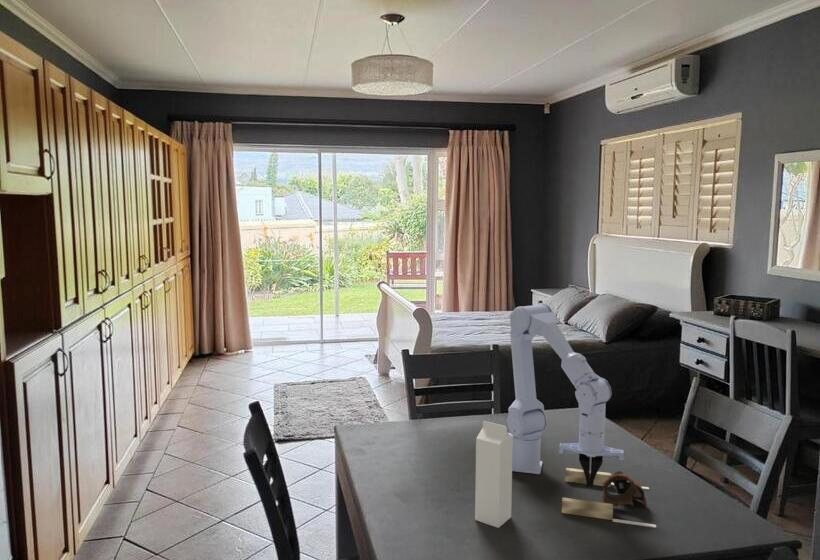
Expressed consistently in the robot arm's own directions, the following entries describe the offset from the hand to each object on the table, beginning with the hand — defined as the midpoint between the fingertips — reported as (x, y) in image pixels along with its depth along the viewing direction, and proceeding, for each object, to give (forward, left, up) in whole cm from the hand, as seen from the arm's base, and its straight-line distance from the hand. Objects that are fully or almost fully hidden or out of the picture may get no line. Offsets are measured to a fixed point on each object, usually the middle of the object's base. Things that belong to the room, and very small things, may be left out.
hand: (589, 484), depth 146 cm
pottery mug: (+8, 0, -4) cm, 9 cm away
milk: (-20, -17, -4) cm, 27 cm away
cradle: (0, 0, -3) cm, 3 cm away
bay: (+10, 0, -3) cm, 10 cm away
